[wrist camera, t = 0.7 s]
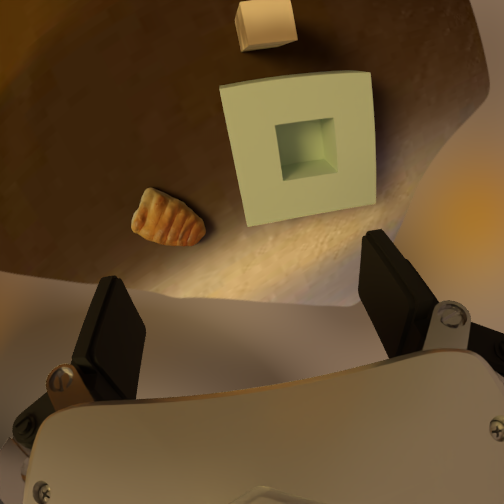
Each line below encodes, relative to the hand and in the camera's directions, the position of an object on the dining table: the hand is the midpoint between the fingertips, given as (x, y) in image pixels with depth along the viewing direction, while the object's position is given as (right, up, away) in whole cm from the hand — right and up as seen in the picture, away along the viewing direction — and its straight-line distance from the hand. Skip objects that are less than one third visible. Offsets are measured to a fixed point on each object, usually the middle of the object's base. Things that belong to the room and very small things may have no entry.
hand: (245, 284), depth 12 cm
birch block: (+1, +25, +16) cm, 30 cm away
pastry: (-11, +6, +28) cm, 31 cm away
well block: (+5, +15, +24) cm, 28 cm away
